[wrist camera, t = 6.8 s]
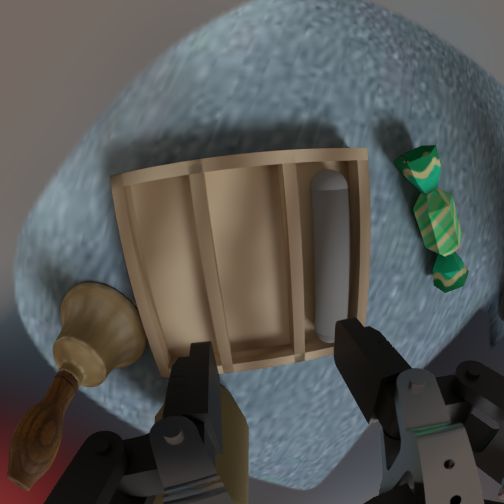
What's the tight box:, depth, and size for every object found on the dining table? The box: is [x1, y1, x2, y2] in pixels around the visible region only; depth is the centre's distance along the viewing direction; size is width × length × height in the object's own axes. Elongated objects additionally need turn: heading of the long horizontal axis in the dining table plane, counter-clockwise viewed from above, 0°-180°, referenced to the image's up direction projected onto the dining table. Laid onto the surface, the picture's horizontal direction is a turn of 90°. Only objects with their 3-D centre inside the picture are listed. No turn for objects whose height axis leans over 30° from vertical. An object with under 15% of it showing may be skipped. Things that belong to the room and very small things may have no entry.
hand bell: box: [7, 282, 147, 491], centre depth 13 cm, size 8×8×16 cm
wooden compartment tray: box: [110, 148, 371, 378], centre depth 19 cm, size 16×15×2 cm
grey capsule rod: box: [310, 169, 349, 343], centre depth 18 cm, size 2×12×2 cm, turn 6°
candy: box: [394, 145, 469, 293], centre depth 19 cm, size 12×3×4 cm, turn 31°
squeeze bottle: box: [154, 386, 249, 504], centre depth 15 cm, size 8×8×18 cm
